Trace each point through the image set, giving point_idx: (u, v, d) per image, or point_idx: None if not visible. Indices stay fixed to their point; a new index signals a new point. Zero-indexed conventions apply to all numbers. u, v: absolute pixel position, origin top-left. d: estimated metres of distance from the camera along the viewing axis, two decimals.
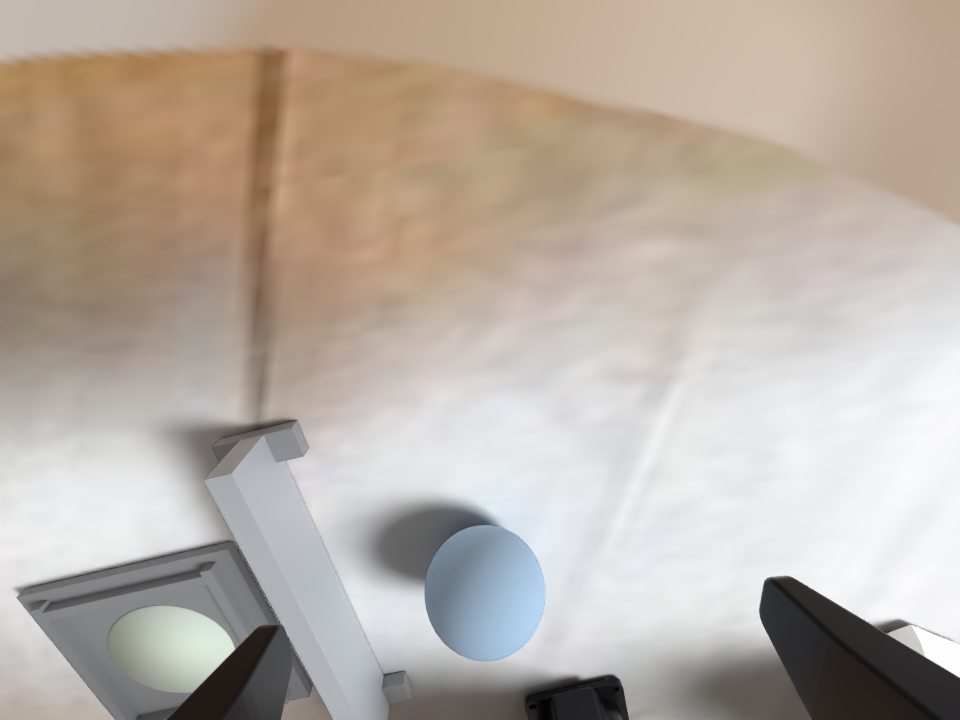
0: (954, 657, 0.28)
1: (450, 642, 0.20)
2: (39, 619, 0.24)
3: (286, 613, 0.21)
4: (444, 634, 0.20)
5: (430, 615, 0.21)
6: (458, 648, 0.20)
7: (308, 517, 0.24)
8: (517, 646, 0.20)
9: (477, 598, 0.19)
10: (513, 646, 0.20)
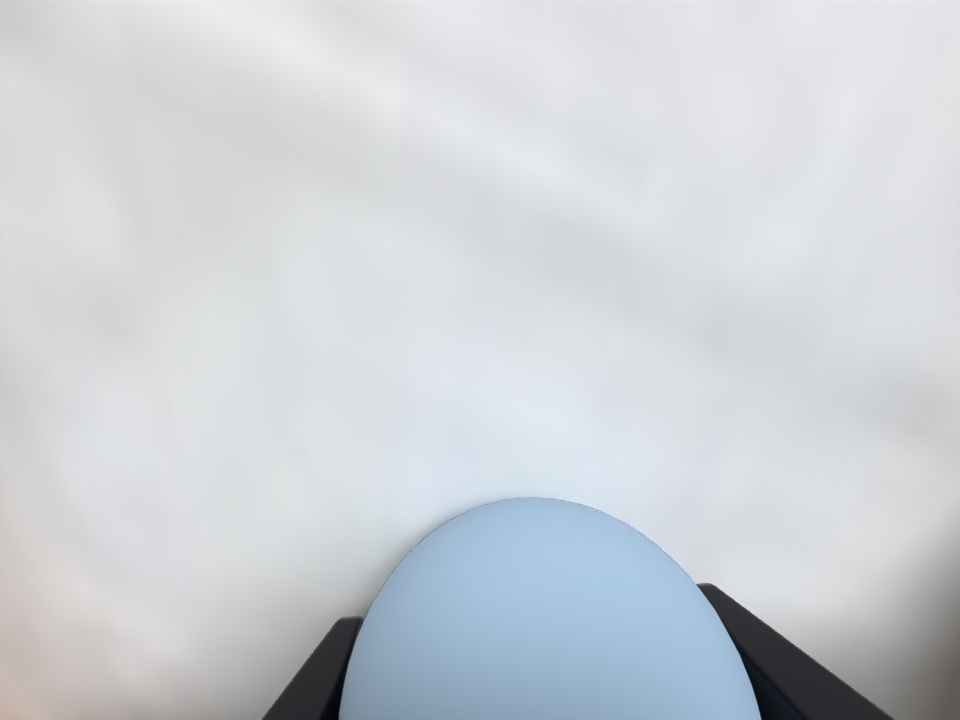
0: None
1: None
2: None
3: None
4: None
5: None
6: None
7: None
8: None
9: None
10: None
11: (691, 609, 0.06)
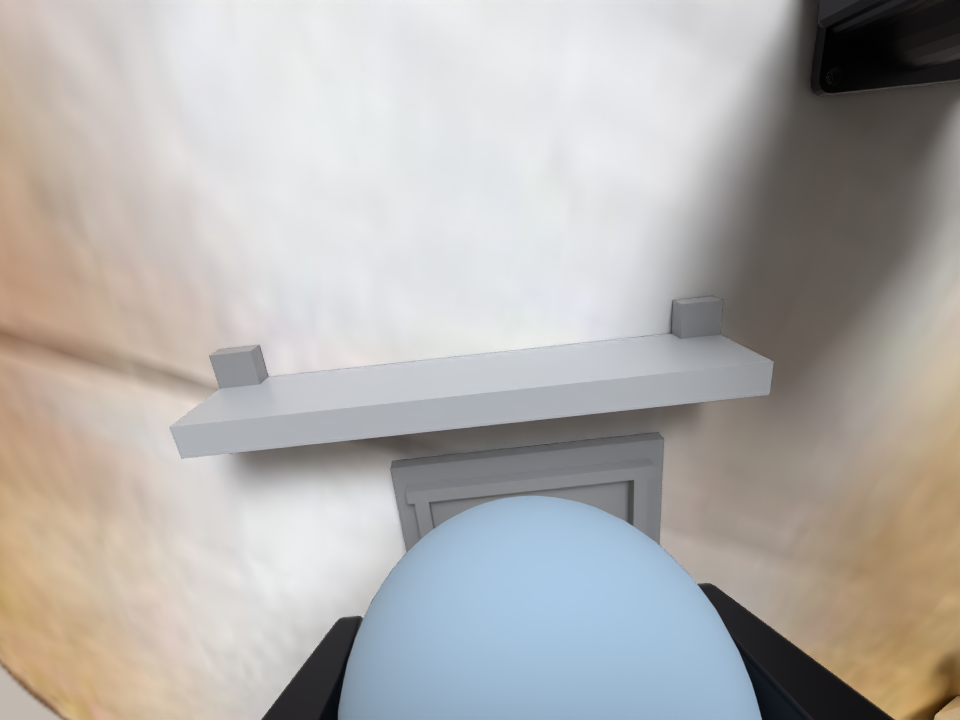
0: None
1: None
2: None
3: (408, 421, 0.15)
4: None
5: None
6: None
7: (359, 368, 0.18)
8: None
9: None
10: None
11: (691, 607, 0.06)
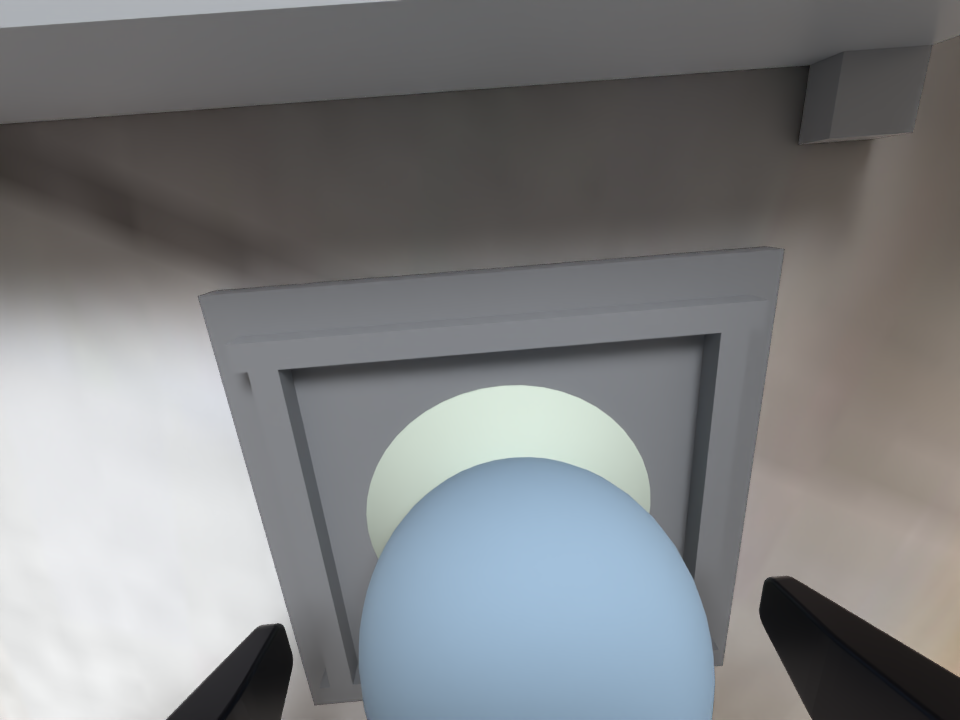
0: None
1: None
2: (346, 695, 0.12)
3: None
4: None
5: None
6: None
7: None
8: None
9: None
10: None
11: (650, 537, 0.07)
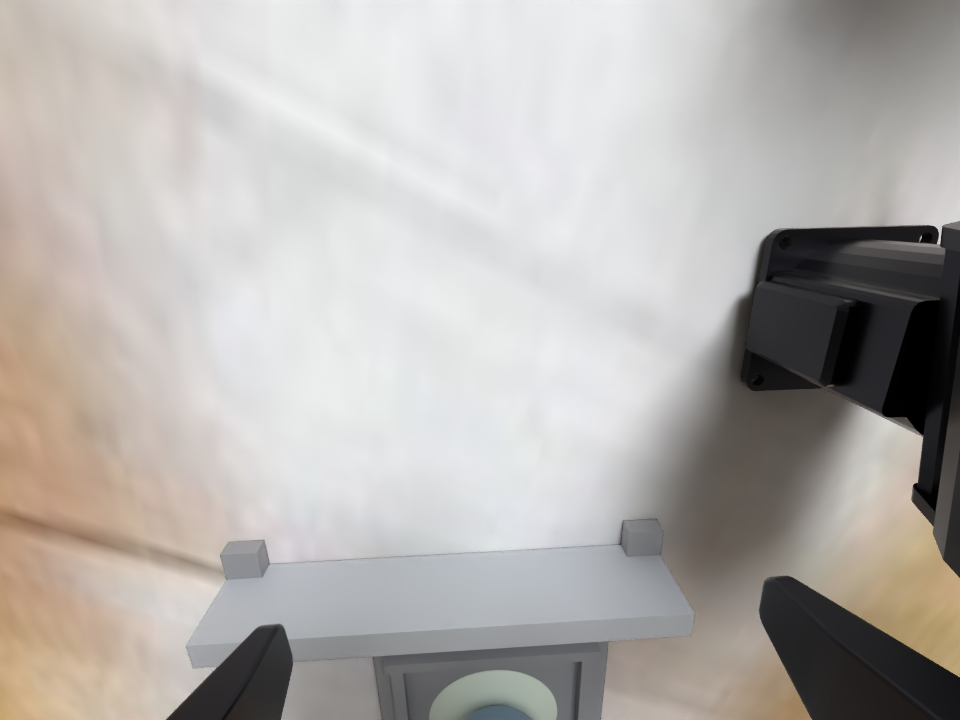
0: None
1: None
2: None
3: (391, 646, 0.18)
4: None
5: None
6: None
7: (351, 563, 0.21)
8: None
9: None
10: None
11: None
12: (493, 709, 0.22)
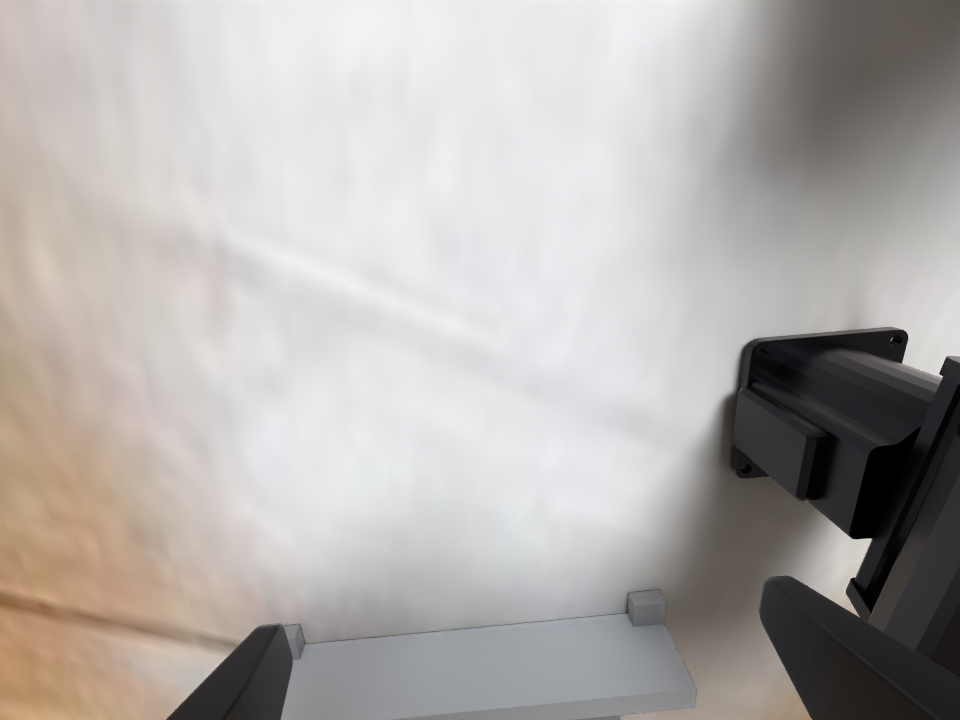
0: None
1: None
2: None
3: None
4: None
5: None
6: None
7: (379, 640, 0.23)
8: None
9: None
10: None
11: None
12: None
